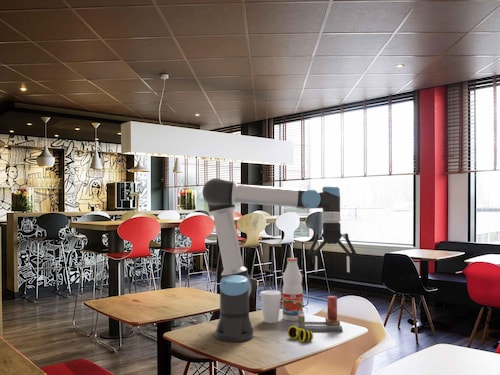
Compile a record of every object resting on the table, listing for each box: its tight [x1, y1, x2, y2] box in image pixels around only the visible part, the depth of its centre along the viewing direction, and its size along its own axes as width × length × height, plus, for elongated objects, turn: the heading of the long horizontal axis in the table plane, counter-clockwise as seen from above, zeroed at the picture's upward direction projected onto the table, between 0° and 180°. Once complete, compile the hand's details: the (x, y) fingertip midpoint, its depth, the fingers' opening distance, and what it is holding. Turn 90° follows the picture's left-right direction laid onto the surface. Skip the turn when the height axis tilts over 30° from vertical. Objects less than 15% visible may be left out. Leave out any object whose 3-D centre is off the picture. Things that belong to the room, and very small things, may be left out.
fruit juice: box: [281, 257, 304, 322], centre depth 200 cm, size 9×9×28 cm
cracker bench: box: [297, 311, 343, 333], centre depth 182 cm, size 18×10×6 cm, turn 86°
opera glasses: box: [287, 325, 314, 343], centre depth 167 cm, size 10×5×5 cm, turn 37°
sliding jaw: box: [325, 295, 341, 326], centre depth 182 cm, size 5×8×11 cm, turn 176°
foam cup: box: [260, 290, 282, 324], centre depth 195 cm, size 10×9×13 cm
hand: (332, 271), depth 183 cm, fingers open, 13 cm apart
